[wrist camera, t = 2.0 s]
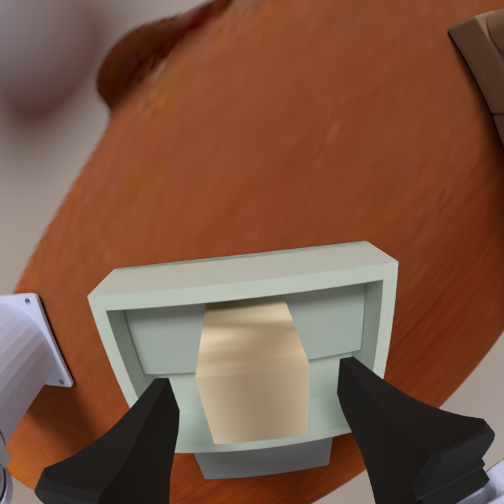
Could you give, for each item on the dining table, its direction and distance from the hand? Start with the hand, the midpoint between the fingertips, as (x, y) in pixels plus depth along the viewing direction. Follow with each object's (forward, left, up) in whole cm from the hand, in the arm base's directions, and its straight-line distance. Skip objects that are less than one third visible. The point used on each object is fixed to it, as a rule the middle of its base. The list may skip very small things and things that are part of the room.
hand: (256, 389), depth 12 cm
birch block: (0, 0, -5) cm, 5 cm away
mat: (0, -14, -7) cm, 16 cm away
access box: (0, -2, -7) cm, 7 cm away
